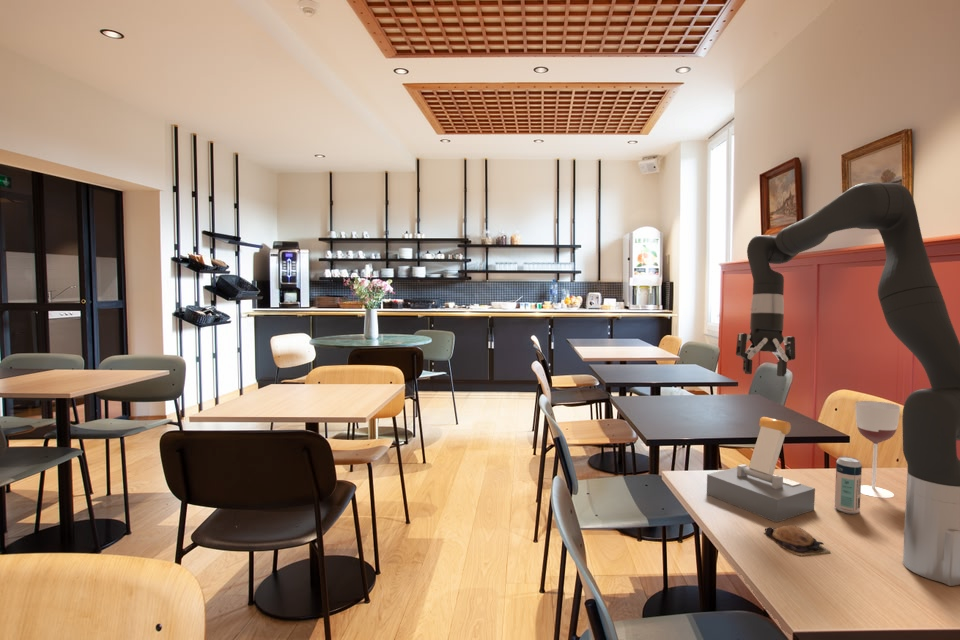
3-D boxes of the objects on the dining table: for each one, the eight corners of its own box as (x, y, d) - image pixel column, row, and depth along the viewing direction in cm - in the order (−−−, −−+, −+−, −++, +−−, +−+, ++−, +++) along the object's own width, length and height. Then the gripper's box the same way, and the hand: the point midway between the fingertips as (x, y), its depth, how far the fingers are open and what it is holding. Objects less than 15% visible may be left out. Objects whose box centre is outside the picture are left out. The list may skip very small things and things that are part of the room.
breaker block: (743, 484, 138) (744, 455, 138) (814, 509, 123) (815, 477, 122) (706, 494, 132) (707, 464, 131) (776, 522, 116) (777, 488, 115)
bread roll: (834, 556, 102) (835, 538, 102) (795, 560, 101) (796, 541, 101) (793, 531, 113) (794, 514, 113) (757, 534, 112) (758, 517, 111)
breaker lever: (748, 475, 130) (766, 418, 133) (775, 485, 124) (794, 424, 126) (741, 472, 129) (759, 414, 131) (768, 481, 123) (787, 420, 125)
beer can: (851, 506, 124) (854, 456, 123) (864, 515, 119) (866, 463, 119) (830, 505, 125) (832, 455, 124) (841, 514, 120) (844, 462, 119)
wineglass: (843, 488, 136) (847, 403, 134) (866, 482, 140) (869, 399, 138) (881, 500, 128) (885, 410, 126) (904, 494, 132) (908, 406, 130)
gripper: (747, 309, 134) (744, 374, 133) (803, 313, 134) (800, 377, 133) (732, 311, 141) (730, 372, 141) (785, 315, 142) (783, 376, 141)
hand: (764, 375), depth 137 cm, fingers open, 8 cm apart
